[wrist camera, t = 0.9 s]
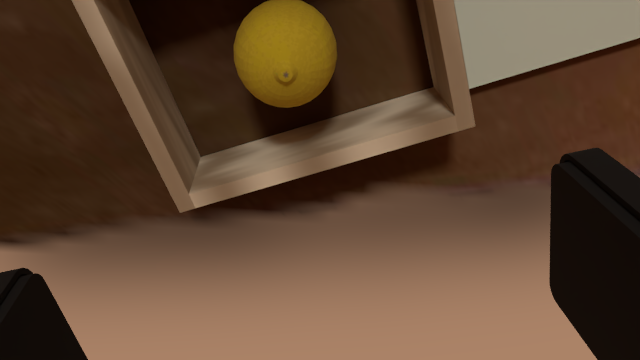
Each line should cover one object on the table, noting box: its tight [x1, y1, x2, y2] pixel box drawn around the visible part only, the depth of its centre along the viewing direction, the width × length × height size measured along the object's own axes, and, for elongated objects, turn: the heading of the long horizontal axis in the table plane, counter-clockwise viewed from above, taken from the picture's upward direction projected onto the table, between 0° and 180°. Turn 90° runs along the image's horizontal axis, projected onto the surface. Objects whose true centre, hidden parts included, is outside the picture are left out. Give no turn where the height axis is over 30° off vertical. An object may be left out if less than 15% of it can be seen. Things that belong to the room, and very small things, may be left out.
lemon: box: [234, 0, 337, 108], centre depth 29 cm, size 6×6×8 cm
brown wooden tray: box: [72, 0, 475, 213], centre depth 30 cm, size 18×14×5 cm
